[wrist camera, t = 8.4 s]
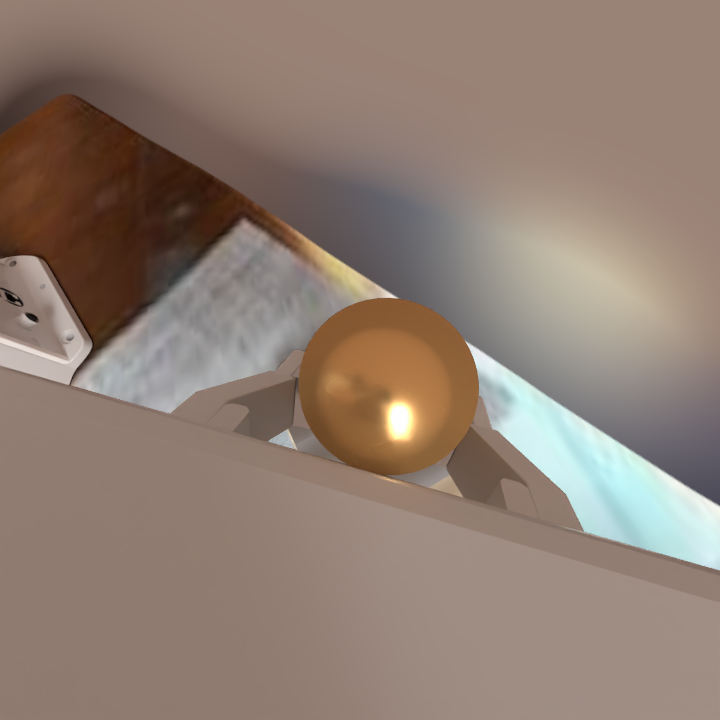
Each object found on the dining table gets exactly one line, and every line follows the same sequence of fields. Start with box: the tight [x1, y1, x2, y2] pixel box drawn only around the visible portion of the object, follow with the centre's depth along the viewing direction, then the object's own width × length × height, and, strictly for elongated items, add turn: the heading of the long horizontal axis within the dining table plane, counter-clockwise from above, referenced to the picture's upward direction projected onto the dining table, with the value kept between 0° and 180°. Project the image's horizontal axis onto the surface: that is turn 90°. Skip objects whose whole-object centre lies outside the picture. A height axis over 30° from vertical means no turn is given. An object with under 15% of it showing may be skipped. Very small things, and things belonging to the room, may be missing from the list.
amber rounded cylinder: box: [298, 298, 479, 475], centre depth 10 cm, size 3×3×11 cm
